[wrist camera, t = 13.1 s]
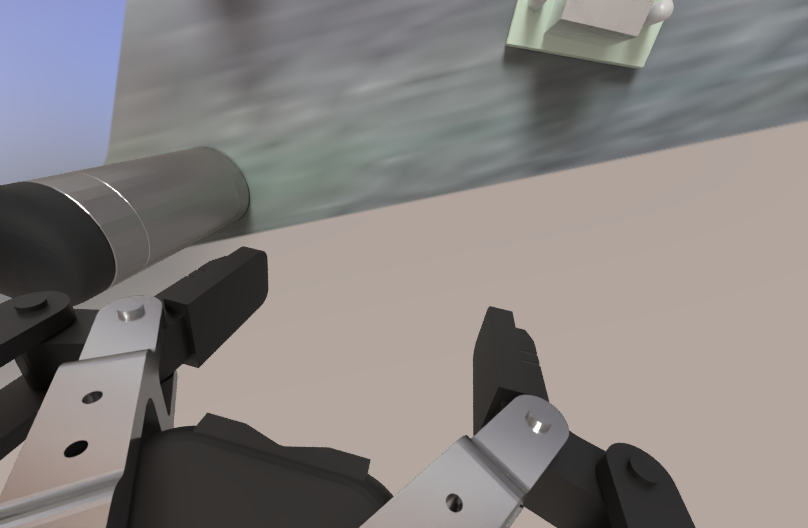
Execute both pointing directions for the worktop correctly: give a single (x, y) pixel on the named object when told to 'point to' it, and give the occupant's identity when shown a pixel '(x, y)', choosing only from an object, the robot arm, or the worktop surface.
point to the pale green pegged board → (631, 53)
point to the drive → (598, 20)
